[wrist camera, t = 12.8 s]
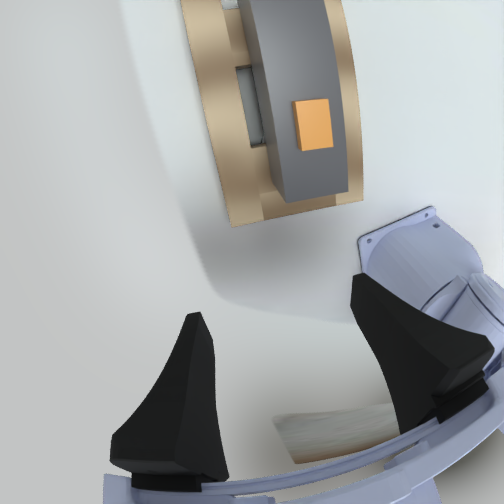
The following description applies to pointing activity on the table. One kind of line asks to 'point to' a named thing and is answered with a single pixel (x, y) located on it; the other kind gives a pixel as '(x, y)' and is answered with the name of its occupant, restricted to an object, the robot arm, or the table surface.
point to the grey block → (298, 96)
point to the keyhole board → (233, 118)
